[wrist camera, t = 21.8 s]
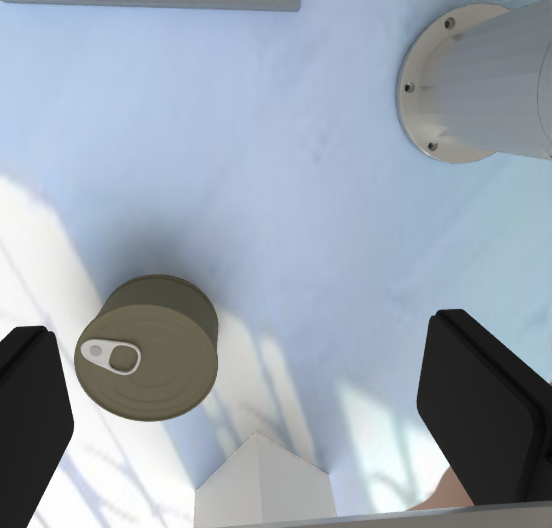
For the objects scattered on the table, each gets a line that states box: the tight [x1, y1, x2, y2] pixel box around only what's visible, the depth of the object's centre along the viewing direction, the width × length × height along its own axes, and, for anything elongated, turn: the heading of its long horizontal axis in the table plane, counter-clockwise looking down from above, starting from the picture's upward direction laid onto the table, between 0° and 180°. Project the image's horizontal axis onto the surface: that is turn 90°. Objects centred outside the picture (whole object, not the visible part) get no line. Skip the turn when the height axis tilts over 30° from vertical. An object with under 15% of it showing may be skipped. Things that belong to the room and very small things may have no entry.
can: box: [74, 275, 218, 422], centre depth 38 cm, size 12×12×7 cm
